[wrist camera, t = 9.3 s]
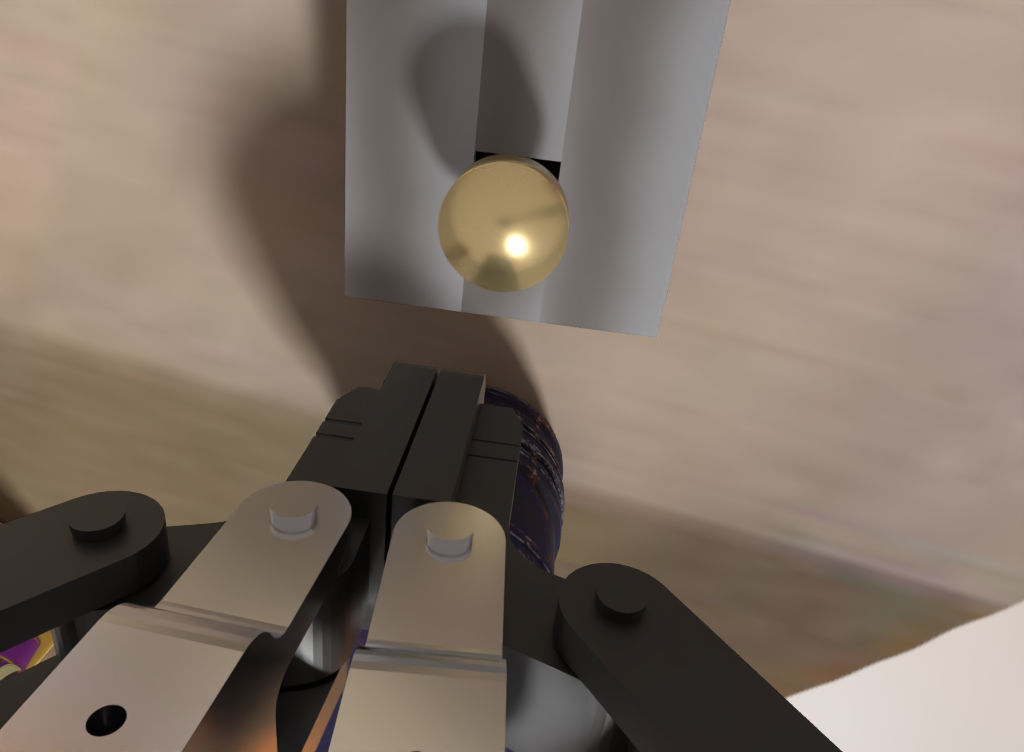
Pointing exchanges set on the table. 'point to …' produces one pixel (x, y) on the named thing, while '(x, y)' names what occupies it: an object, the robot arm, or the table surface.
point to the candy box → (24, 655)
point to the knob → (504, 222)
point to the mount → (527, 143)
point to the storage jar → (518, 504)
